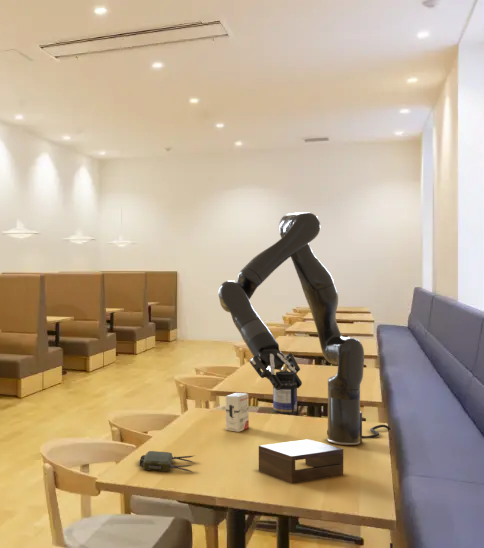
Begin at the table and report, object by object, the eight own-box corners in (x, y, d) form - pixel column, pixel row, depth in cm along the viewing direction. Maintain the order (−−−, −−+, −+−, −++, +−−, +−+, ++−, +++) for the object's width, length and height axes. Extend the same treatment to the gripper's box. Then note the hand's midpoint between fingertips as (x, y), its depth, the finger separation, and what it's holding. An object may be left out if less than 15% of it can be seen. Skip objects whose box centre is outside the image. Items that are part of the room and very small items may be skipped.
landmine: (143, 448, 211) (196, 451, 207) (143, 457, 211) (196, 461, 207) (137, 460, 198) (194, 465, 194) (137, 470, 198) (194, 474, 194)
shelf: (308, 463, 204) (308, 439, 204) (343, 475, 193) (343, 449, 193) (258, 471, 197) (258, 445, 197) (291, 483, 186) (291, 456, 186)
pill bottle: (285, 409, 202) (285, 370, 202) (302, 414, 197) (302, 373, 196) (268, 411, 200) (268, 371, 199) (284, 416, 194) (284, 374, 194)
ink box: (235, 425, 252) (235, 391, 252) (249, 427, 249) (249, 393, 249) (225, 430, 245) (225, 395, 245) (239, 432, 242) (239, 396, 242)
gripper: (245, 332, 202) (276, 381, 191) (285, 329, 207) (317, 377, 197) (232, 348, 207) (261, 397, 196) (271, 346, 212) (302, 393, 202)
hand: (289, 387), depth 196 cm, fingers closed on pill bottle, 6 cm apart
